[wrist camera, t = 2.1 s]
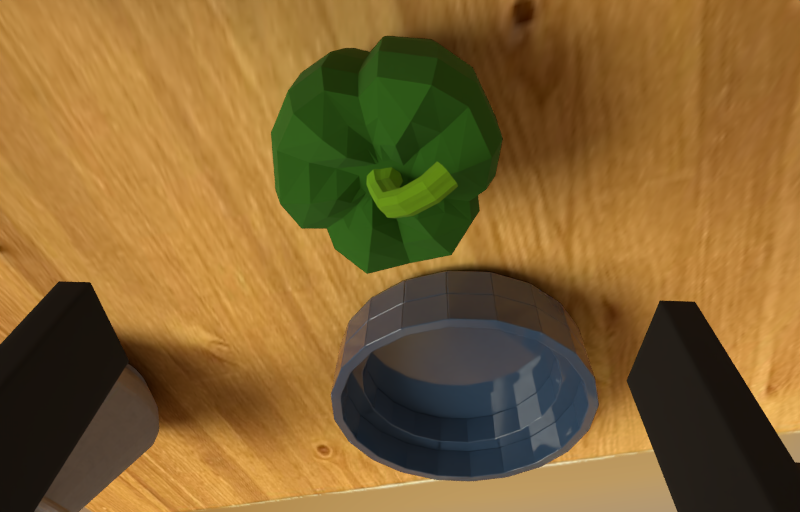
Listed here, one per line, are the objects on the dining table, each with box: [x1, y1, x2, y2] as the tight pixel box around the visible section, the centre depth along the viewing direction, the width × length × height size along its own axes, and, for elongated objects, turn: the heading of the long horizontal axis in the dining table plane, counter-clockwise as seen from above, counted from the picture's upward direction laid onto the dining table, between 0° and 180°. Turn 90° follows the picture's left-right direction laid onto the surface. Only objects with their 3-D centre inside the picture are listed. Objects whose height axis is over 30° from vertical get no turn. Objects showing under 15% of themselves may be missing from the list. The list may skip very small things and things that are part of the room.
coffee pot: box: [34, 364, 159, 512], centre depth 30 cm, size 21×12×15 cm, turn 114°
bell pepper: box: [271, 36, 503, 274], centre depth 19 cm, size 8×8×10 cm
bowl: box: [331, 271, 599, 481], centre depth 32 cm, size 16×16×4 cm
